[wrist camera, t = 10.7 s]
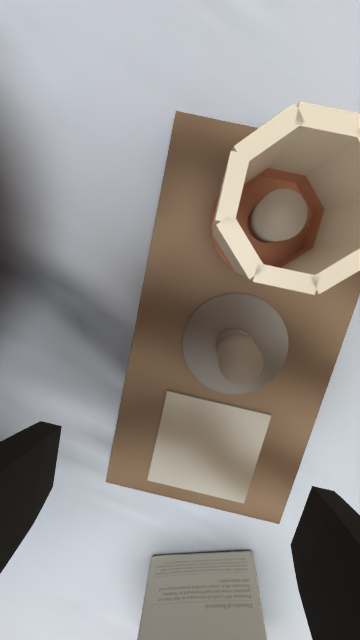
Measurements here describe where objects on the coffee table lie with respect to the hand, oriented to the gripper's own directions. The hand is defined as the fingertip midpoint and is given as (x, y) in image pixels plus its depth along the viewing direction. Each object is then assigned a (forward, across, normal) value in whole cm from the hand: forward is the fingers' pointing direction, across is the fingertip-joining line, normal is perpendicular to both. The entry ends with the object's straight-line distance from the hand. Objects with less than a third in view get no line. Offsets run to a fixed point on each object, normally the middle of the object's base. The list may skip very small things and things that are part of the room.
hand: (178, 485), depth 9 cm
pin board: (+10, -2, -2) cm, 11 cm away
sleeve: (+9, -2, -8) cm, 12 cm away
